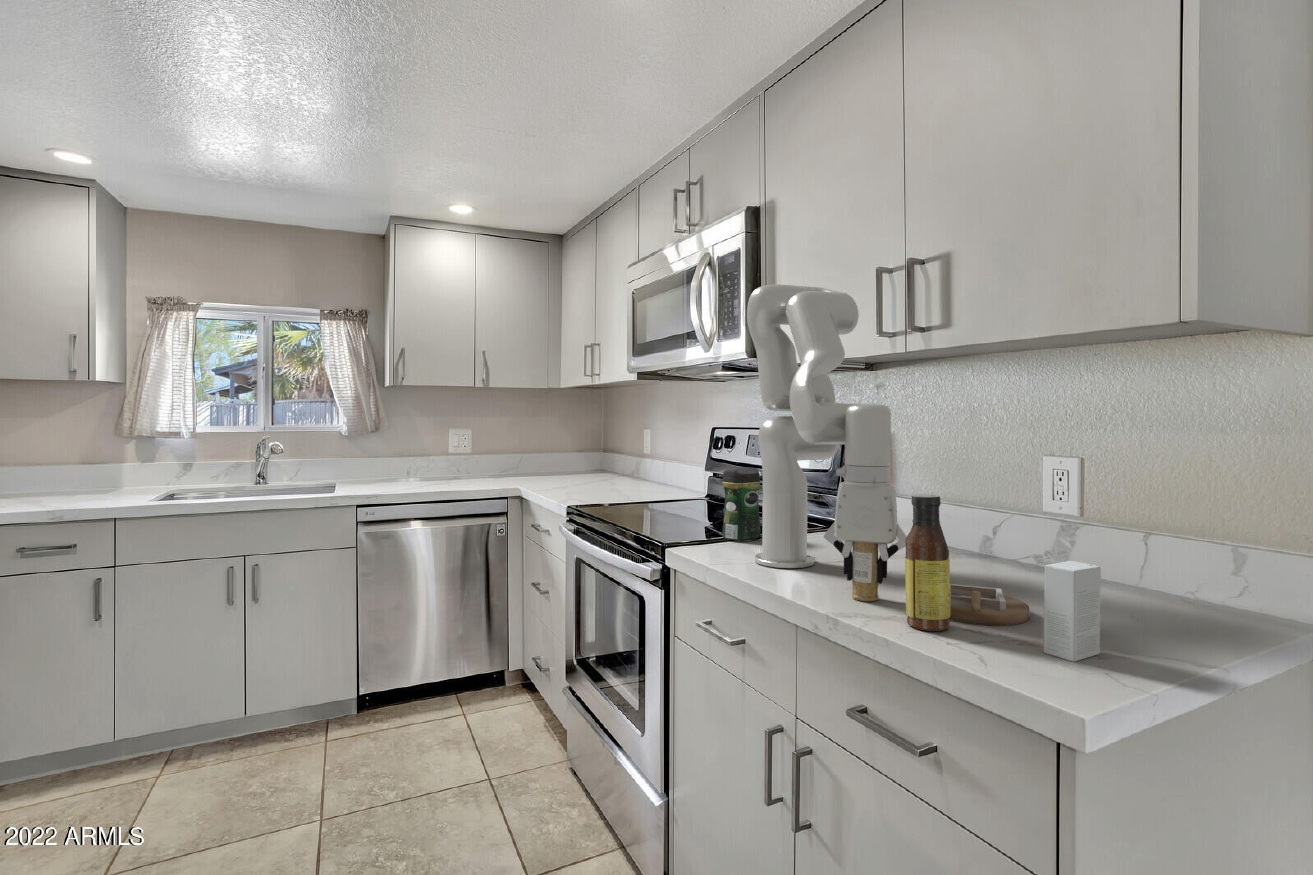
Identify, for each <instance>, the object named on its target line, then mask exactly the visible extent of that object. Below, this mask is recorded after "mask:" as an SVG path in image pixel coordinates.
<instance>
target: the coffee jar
mask: <svg viewBox="0 0 1313 875" xmlns="http://www.w3.org/2000/svg"><path fill="white" fill-rule="evenodd" d="M722 486H723V489H724V511H723V524H722V538H723V539H725V540H726V539H728V540H734V541H733V542H740V541H742V542H743V541H745V542H748V541H747V540H751V541H754V539H755V540H758V539H757V538H759V537H760V538H761V537H762V536H761V535H762V533H761V532H762V531H761V520H760V508H759V507H760V506H759V490H760V487H761V475H760V471H759V470H758V468H753V467H744V466H741V467H740V466H739V467H731V468H726V469H724V471H723V473H722ZM760 538H759V539H760ZM728 540H727V541H728Z"/></svg>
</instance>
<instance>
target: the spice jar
mask: <svg viewBox="0 0 1313 875" xmlns="http://www.w3.org/2000/svg"><path fill="white" fill-rule="evenodd" d="M851 552H852V580H851V581H852V586H851V587H852V588H851V590H852V591H851V597H852V598H853V599H854V600H857V601H858V602H859V601H860V602H861V601H862V602H876V601H878V599H879V598H880V597H879V583H877V577H878V559H879V546H878V544H876V543H862V542H853V545H852V549H851Z"/></svg>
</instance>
